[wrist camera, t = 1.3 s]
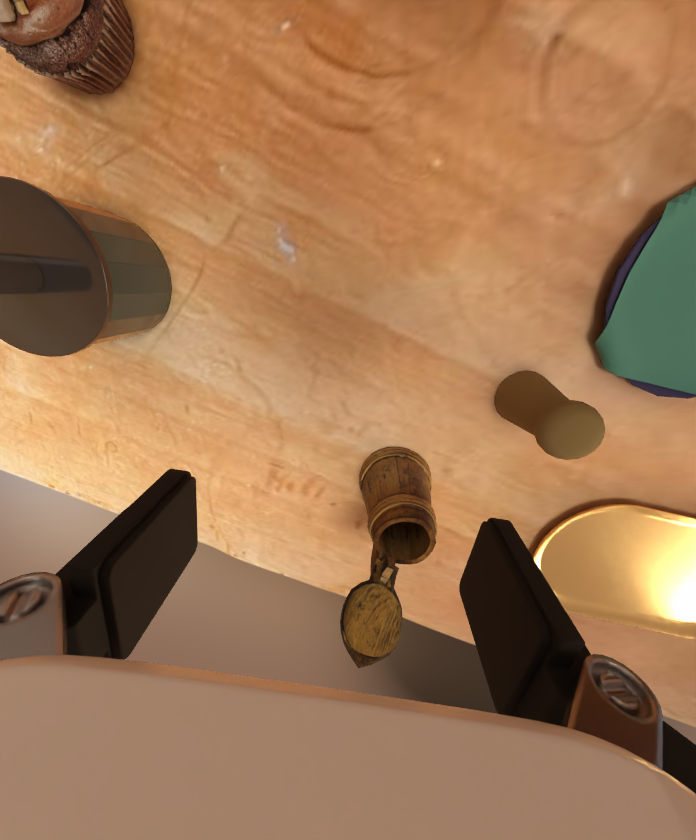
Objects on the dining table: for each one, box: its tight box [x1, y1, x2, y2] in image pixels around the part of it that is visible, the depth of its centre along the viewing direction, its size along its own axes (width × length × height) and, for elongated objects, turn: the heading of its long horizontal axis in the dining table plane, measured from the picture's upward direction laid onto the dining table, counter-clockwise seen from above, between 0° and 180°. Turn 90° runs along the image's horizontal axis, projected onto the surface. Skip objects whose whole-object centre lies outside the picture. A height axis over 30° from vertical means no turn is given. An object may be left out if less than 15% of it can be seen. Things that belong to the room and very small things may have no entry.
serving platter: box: [533, 504, 696, 638], centre depth 45 cm, size 19×35×2 cm, turn 77°
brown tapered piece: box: [495, 371, 605, 460], centre depth 33 cm, size 6×6×11 cm
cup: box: [56, 197, 171, 345], centre depth 31 cm, size 12×12×10 cm
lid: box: [0, 176, 113, 357], centre depth 24 cm, size 13×13×6 cm
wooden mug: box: [340, 447, 437, 668], centre depth 35 cm, size 9×14×18 cm, turn 152°
